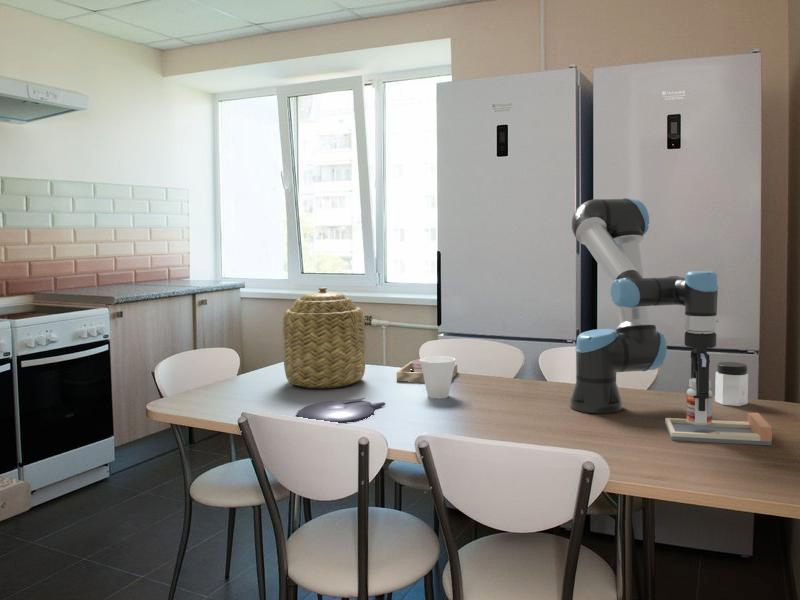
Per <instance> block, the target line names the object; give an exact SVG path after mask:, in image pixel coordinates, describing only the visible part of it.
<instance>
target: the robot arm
mask: <svg viewBox="0 0 800 600" xmlns="http://www.w3.org/2000/svg"><path fill="white" fill-rule="evenodd" d="M649 225H650V216H649V212H648V208H647V207H646V205H645V204H644V202H642V201H640V200H639V199H633V198H627V197H626V198H609V199H608V198H602V199H601V198H598V199H597V198H596V199H590V200H587V201H585V202H583V203H582V204H581V205H579V206H577V208H576V210H575V212H574V213H573V216H572V219H571V229H572V233H573V236H574V237H575V239H576V240H577V242H579V243H580V244H581V245H584V246H585V247H586V248H587V250H588V251H589V252H590V254H591V256H592V257H593V258H594V260H595V261H596V263H597V264H598V266H599V267H600V268H601V270H602V272H603V273H604V274H605V276H606V278H607V279H608V281H610V283H611V285H610V297H611V301H612V302H613V304H614V305H615V306H617V309H618V318H619V324H618V326H617V327H616V328H615V329H611V328H599V329H591V330H587V331H583V332H581V333H580V334H578V335H577V337H576V344H575V345H576V346H575V358H576V359H575V363H576V365H575V367H576V368H575V373H576V375H575V376H576V377H575V379H576V380H575V384H574V387H573V389H572V390H573V391H572V393H571V396H570V400H569V406H570V408H571V409H573V410H575V411H579V412H581V413H589V414H612V413H613V414H614V413H618V412H620V411H621V410H623V401H622V397H621V394H620V391H619V387H618V384H617V373H629V372H647V371H654V370H657V369H659V368H660V367H661V366H662V365H663V364H664V362H665V360H666V358H667V353H668V350H667V349H668V344H667V339H666V337H665V335H664V334H663V333H662V332H660V331H658V330H657V327H656V324H655V323H654V322H652V320H651V319H650V316H649V315H650V314H649V307H652V306H653V307H654V306H655V307H656V306H658V307H659V306H683V307H684V330H686V331H685V332H684V345H685V346H686V347H688V348H691V349H692V350H690V358H691V359H690V360H691V361H690V362H691V364H690V379H692V378H696V396H693V398H695V423H707V398H709V390H710V388H709V380H710V363H711V361H710V354H708V351H707V349H713V348H715V347H717V333H716V332H715V331H716V330H717V323H719V322H720V318H717V316H718V315H717V314H718V295H719V294H718V293H719V285H718V275H717V273H716V272H715V271H709V270H692V271H690V270H689V271H687V273H685V277H682V276H677V275H675V276H674V275H673V276H672V275H670V276H669V275H668V276H665V277H645V276H644V269H643V263H642V256H641V254H642V253H641V248H640V247H641V246H640V244H641V243H642V241H643V240H644V235H646V233H647V232H648V230H649V228H650V226H649ZM701 392H703V393H701Z"/></svg>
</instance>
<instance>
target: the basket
mask: <svg viewBox="0 0 800 600" xmlns="http://www.w3.org/2000/svg"><path fill="white" fill-rule="evenodd" d="M318 290H319V291H315V292H308V293H304V294H303V295H301V297H300V298H296V299H295V300H294V302H293V303H292V305H291V307H290V308H289V309H287V310H286V311H285V312H284V313H283V317H282V318H283V319H282V353H283V355H282V356H283V357H282V358H283V366H284V367H283V368H284V372H285V377H286V379H287V381H288V382H289V383H290V384H292V385H295V386H297V385H298V387H300V386H302V387H301V388H304V387H308V388H307V389H312V388H328V389H335V388H334V387H338V388H343V387H342V386H344V387H347V385H348V386H350V384H351V385H353V384H355V383H357V382H359V381H361V380H362V379H363V377H364V375H365V371H366V361H367V360H366V359H367V356H366V355H367V351H366V349H367V346H366V345H367V344H366V339H367V338H366V327H365V323H366V322H365V317H364V312H363V310H362V308H360V307H358V306H356V305H355V302H354V301H353V300H352V298H350V297H347V296H345V294H343V293H341V292H335V291H327V290H328V288H327V287H325V286H323V287H321V286H320V287H318Z"/></svg>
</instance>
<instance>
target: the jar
mask: <svg viewBox="0 0 800 600" xmlns="http://www.w3.org/2000/svg"><path fill="white" fill-rule="evenodd" d="M716 366H717V367H716V368H717V371H715V378H714V379H715V383H714V385H715V386H714V388H715V390H714V391H715V392H714V402H715V403H718V404H720V405H722V406H731V407H742V406H745V405H748V402H749V401H748V400H749V399H748V398H749V397H748V395H749V373H747V372H748V365H747V364H745V363H742V362H735V361H720V362H718V363H717V365H716Z"/></svg>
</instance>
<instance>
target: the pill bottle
mask: <svg viewBox="0 0 800 600" xmlns="http://www.w3.org/2000/svg"><path fill="white" fill-rule="evenodd" d="M688 383H689V384H688V386H689V387H690V388H688V389H687V390H686V411H685V412H686V413H685V414H686V416H685V417H686V418H685V419H686V421H687V422H688V423H690V424H694V425H709V424H711V423H712V420H713V396H714V395H713V391H712V390H711V389H710V388H712V381H711V379H709V398H707V423H695V398H693V396H696V378H692V379H691V378H690V379H689V380H688ZM701 393H703V392H701Z"/></svg>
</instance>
